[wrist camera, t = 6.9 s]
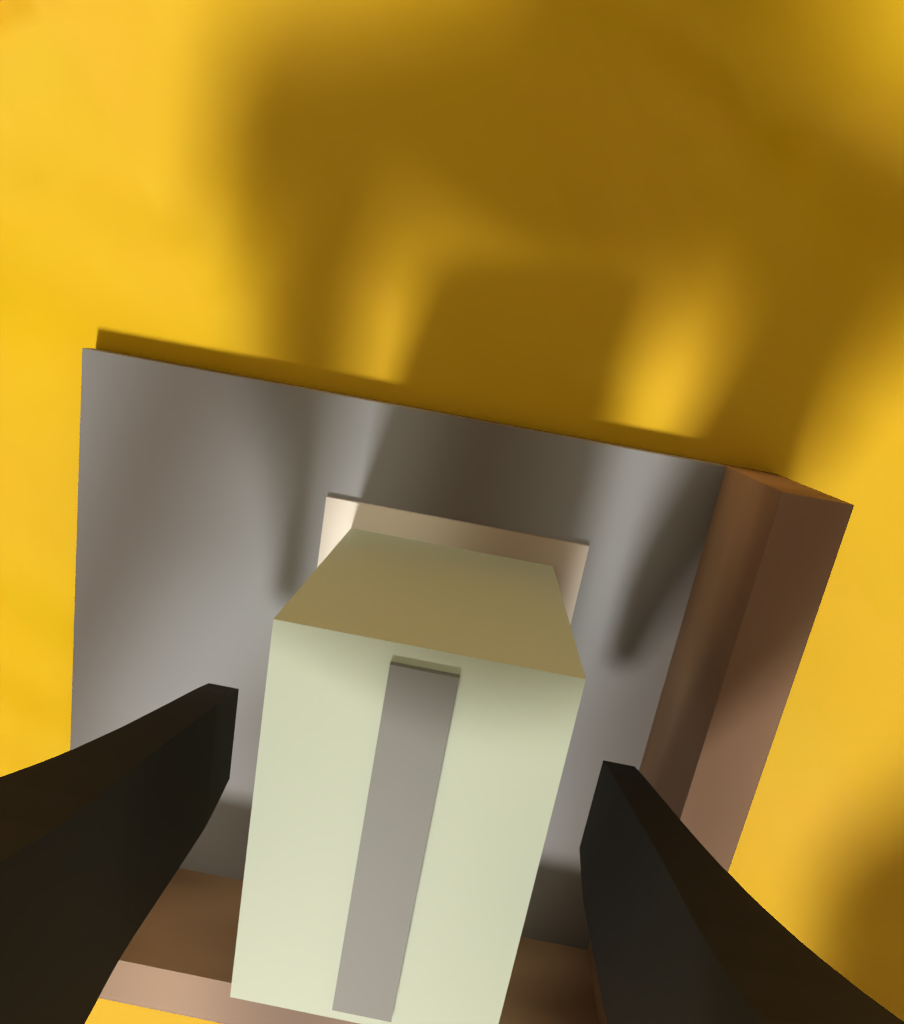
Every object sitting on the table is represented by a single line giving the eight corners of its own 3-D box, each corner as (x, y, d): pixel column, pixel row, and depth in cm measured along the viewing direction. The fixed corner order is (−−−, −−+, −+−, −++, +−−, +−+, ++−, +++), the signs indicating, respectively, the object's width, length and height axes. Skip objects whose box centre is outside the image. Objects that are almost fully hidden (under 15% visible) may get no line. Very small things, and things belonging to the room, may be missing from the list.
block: (492, 832, 15) (491, 1057, 10) (312, 797, 15) (227, 1002, 10) (552, 566, 14) (587, 683, 9) (351, 528, 14) (270, 622, 9)
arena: (775, 474, 13) (854, 505, 10) (619, 980, 17) (645, 1110, 14) (94, 348, 14) (-14, 344, 11) (75, 870, 17) (-10, 975, 14)
